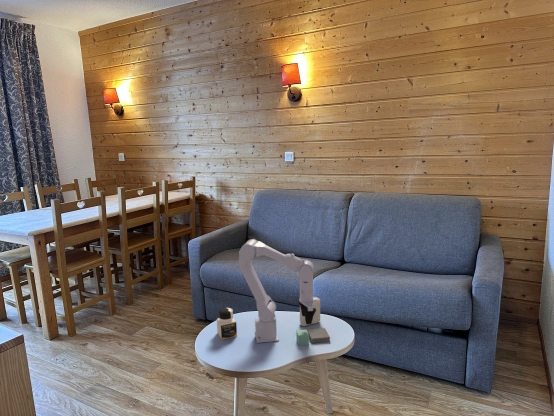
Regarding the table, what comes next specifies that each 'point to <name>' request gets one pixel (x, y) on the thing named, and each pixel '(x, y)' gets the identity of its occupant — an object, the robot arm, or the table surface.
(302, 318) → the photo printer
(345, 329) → the table surface
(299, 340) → the cube
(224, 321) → the medicine bottle
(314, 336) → the base
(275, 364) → the table surface
